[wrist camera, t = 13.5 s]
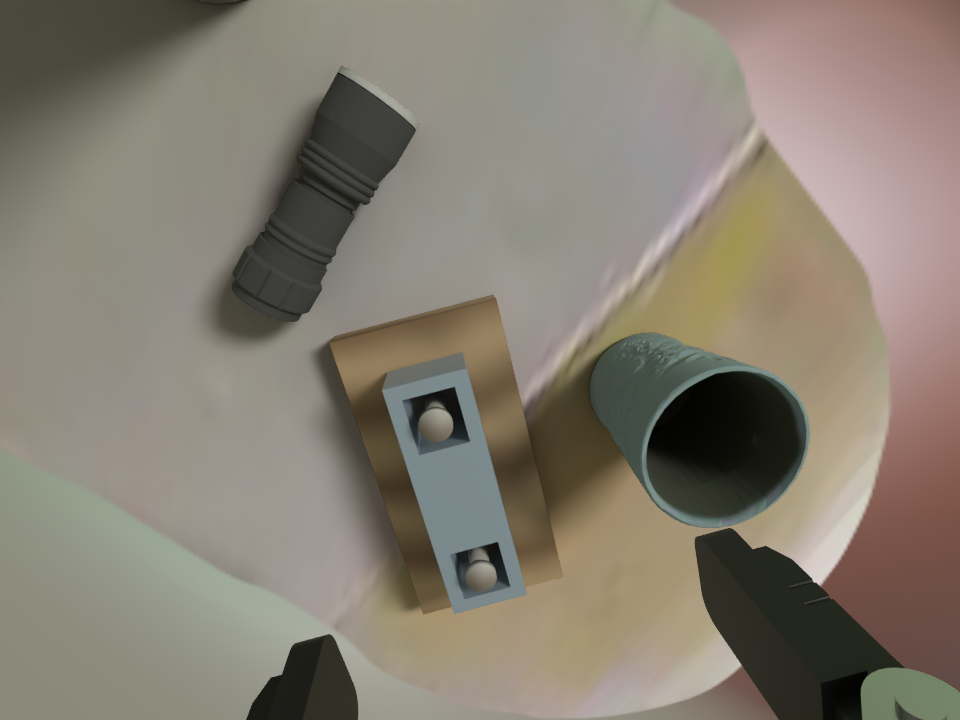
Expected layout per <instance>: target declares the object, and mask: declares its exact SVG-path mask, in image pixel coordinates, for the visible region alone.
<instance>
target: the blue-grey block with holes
mask: <svg viewBox="0 0 960 720" xmlns="http://www.w3.org/2000/svg"><path fill="white" fill-rule="evenodd" d="M452 387H455V389H456V393H457V396H458V400H459V403H460V407H461V411H462V414H463V418H464V420H460V421H456V422H453V430H452V433H451V435H450V436H449V437H448V438H447V439H445V440H444V441H441V442H430V441H427V440H426V439H424V438H423V437H422V436H421V434H420V432H419V429H418V420H417V417H416V414H415V411H414V407H413V404H412V401H411V398H414V397H418V396H421V395H425V394H429V393H433V392H437V391H440V390H444V389H448V388H452ZM382 392H383V395H384V398H385V401H386V404H387V407H388V411H389V414H390V417H391V420H392V423H393V426H394V429H395V432H396V435H397V438H398V441H399V445H400V448H401V451H402V454H403V457H404V460H405V463H406V466H407V469H408V472H409V475H410V479H411V482H412V485H413V488H414V491H415V494H416V497H417V500H418V503H419V506H420V509H421V513H422V516H423V519H424V522H425V525H426V528H427V531H428V534H429V537H430V540H431V543H432V547H433V550H434V553H435V556H436V559H437V562H438V565H439V568H440V571H441V574H442V577H443V581H444V584H445V587H446V590H447V593H448V596H449V599H450V602H451V605H452V608H453V611H454V614H456V613H460V612H463V611H467V610H471V609H474V608H478V607H482V606H486V605H489V604H493V603H497V602H501V601H504V600H508V599H512V598H516V597H519V596H523V595H527V593H526V589H525V585H524V581H523V577H522V573H521V568H520V564H519V560H518V556H517V552H516V549H515V545H514V541H513V537H512V534H511V530H510V526H509V523H508V519H507V515H506V511H505V508H504V504H503V500H502V496H501V493H500V489H499V485H498V481H497V478H496V474H495V470H494V466H493V463H492V459H491V455H490V451H489V448H488V444H487V440H486V436H485V433H484V429H483V425H482V422H481V418H480V414H479V410H478V407H477V403H476V399H475V395H474V392H473V388H472V384H471V380H470V377H469V373H468V369H467V365H466V362H465V358H464V354H463V352H461V353H457V354H453V355H450V356H446V357H442V358H438V359H434V360H431V361H427V362H423V363H419V364H415V365H411V366H408V367H404V368H400V369H396V370H392V371H388V372H387V376H386V379H385V382H384V385H383V389H382ZM495 542H498V544H499V547H500V551H501V553H499V554H495V555H491V556H489V562H491V563H492V564H493V565H494V567H495V569H496V575H497V580H496V583H495V585H494V586H493V587H492V588H491V589H489V590H487V591H483V592H477V591H473V590H471V589H470V588H469V587H468V586H467V584H466V579H465V571H466V568H467V567H468V565H469V562H465V563H461V560H460V557H459V554H458V552H462V551H465V550H469V549H473V548H477V547H480V546H484V545H488V544H492V543H495Z"/></svg>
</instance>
